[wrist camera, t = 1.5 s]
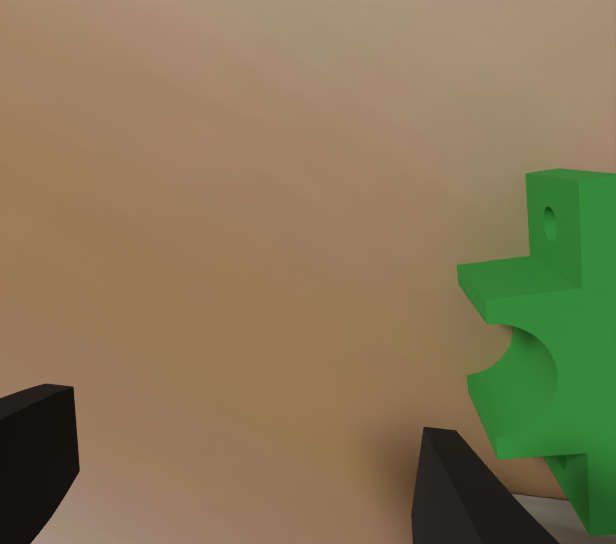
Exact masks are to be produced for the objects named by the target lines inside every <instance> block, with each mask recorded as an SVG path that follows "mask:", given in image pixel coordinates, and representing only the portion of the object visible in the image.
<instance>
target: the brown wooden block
mask: <svg viewBox="0 0 616 544" xmlns="http://www.w3.org/2000/svg"><path fill="white" fill-rule="evenodd" d="M512 495H513V496H514V497H515V498H516V500H517V501H518V502H519V503H520V504H521V505H522V506H523V507H524V508H525V509H526V510H527V511H528V512H529V513H530V514H531V515H532V516H533V517H534V518H535V519H536V520H537V521H538V522H539V523H540V524H541V525H542V526H543V527H544V528H545V529H546V530H547V531H548V532H549V533H550V534H551V535H552V536H553V537H554V538H555V539H556V540H557V541H558V542H559V543H560V544H616V535H603V536H590V535H589V534H588V532H587V530H586V529H585V527H584V525H583V523H582V522H581V520H580V518H579V517H578V515H577V513H576V512H575V510H574V508H573V506H572V505H571V503H570V501H566V500H557V499H549V498H541V497H533V496H525V495H517V494H512Z"/></svg>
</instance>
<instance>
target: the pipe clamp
mask: <svg viewBox="0 0 616 544" xmlns="http://www.w3.org/2000/svg"><path fill="white" fill-rule="evenodd" d="M526 190H527V208H528V226H529V244H530V256H526V257H518V258H510V259H502V260H494V261H486V262H478V263H470V264H462V265H457V272H458V283H459V286H460V287H461V288H462V290H463V291H464V293H465V294H466V295H467V297H468V298H469V300H470V301H471V302H472V304H473V305H474V307H475V308H476V309H477V311H478V312H479V314H480V315H481V316H482V318H483V319H484V321H485V322H486V323H487V324H505V325H510V326H513V337H512V340H511V343H510V346H509V348H508V350H507V351H506V353H505V354H504V356H503V357H502V358H501V359H500V360H499V361H498V362H497V363H496V364H494V365H493V366H491V367H490V368H488V369H486V370H484V371H482V372H479V373H475V374H471V375H467V382H468V392H469V395H470V397H471V399H472V402H473V404H474V406H475V408H476V411H477V413H478V415H479V418H480V420H481V422H482V424H483V427H484V429H485V431H486V434H487V436H488V438H489V440H490V443H491V445H492V447H493V450H494V452H495V454H496V456H497V459H512V458H526V457H541V456H543V457H544V459H545V461H546V462H547V464H548V466H549V467H550V469H551V471H552V473H553V474H554V476H555V478H556V479H557V481H558V483H559V484H560V486H561V488H562V489H563V491H564V493H565V495H566V496H567V498H568V500H569V501H570V503H571V505H572V506H573V508H574V510H575V512H576V513H577V515H578V517H579V518H580V520H581V522H582V523H583V525H584V527H585V529H586V530H587V532H588V534H589V535H590V536H603V535H616V174H613V173H602V172H591V171H580V170H570V169H553V170H546V171H539V172H533V173H526Z"/></svg>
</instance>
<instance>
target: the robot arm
mask: <svg viewBox="0 0 616 544" xmlns="http://www.w3.org/2000/svg"><path fill="white" fill-rule="evenodd" d="M79 471H80V468H79V454H78V441H77V428H76V415H75V401H74V388H73V387H71V386H63V385H54V384H42V385H39V386H35V387H32V388H28V389H25V390H22V391H19V392H17V393H14V394H11V395H8V396H5V397H3V398H0V544H31V542H32V541H33V540H34V539H35V537H36V536H37V535H38V534H39V532H40V531H41V530H42V529H43V527H44V526H45V525H46V523H47V522H48V521H49V519H50V518H51V517H52V515H53V514H54V512H55V511H56V509H57V508H58V506H59V504H60V503H61V501H62V500H63V498H64V497H65V495H66V493H67V492H68V490H69V488H70V487H71V485H72V483H73V481H74V480H75V478H76V476H77V475H78V473H79ZM411 517H412V534H413V544H560V543H559V542H558V541H557V540H556V539H555V538H554V537H553V536H552V535H551V534H550V533H549V532H548V531H547V530H546V529H545V528H544V527H543V526H542V525H541V524H540V523H539V522H538V521H537V520H536V519H535V518H534V517H533V516H532V515H531V514H530V513H529V512H528V511H527V510H526V509H525V508H524V507H523V506H522V505H521V504H520V503H519V502H518V501H517V500H516V498H515V497H514V496H513V495H512V494H511V493H510V492H509V491H508V490H507V489H506V488H505V486H504V485H503V484H502V483H501V482H500V481H499V480H498V479H497V478H496V476H495V475H494V474H493V473H492V472H491V471H490V470H489V468H488V467H487V466H486V465H485V464H484V463H483V461H482V460H481V459H480V458H479V457H478V456H477V454H476V453H475V452H474V451H473V450H472V449H471V447H470V446H469V445H468V444H467V443H466V442H465V440H464V439H463V438H462V437H461V436H460V435H459V434H458V432H457V431H456V430H447V429H438V428H430V427H424V429H423V436H422V443H421V450H420V457H419V464H418V471H417V478H416V485H415V492H414V499H413V506H412V513H411Z"/></svg>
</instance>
